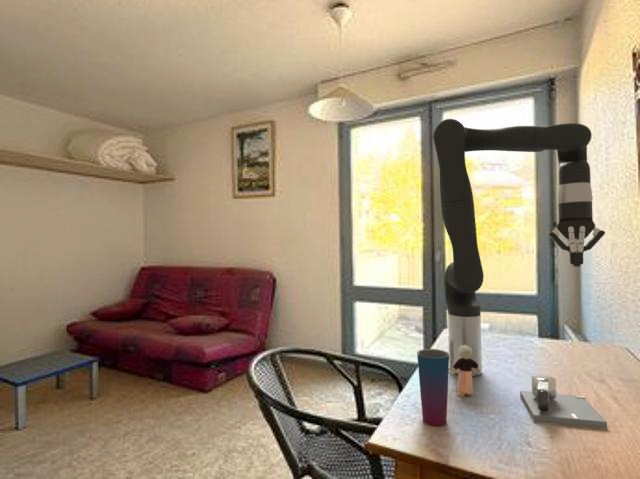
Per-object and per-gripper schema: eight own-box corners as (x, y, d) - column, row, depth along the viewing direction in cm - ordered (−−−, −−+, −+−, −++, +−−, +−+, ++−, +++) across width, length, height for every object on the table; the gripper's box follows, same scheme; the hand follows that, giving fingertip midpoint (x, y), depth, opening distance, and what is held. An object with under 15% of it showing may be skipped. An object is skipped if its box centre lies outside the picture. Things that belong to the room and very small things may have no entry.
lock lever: (532, 389, 94) (532, 373, 94) (556, 393, 92) (555, 376, 92) (529, 408, 84) (529, 390, 84) (556, 413, 82) (556, 394, 82)
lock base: (533, 421, 83) (533, 414, 83) (520, 396, 96) (520, 390, 96) (608, 429, 79) (608, 421, 79) (583, 402, 92) (583, 395, 92)
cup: (426, 411, 89) (424, 347, 89) (455, 419, 85) (453, 352, 85) (413, 422, 84) (411, 354, 84) (443, 431, 80) (441, 360, 80)
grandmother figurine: (458, 399, 96) (457, 348, 96) (449, 393, 100) (448, 344, 100) (484, 395, 98) (483, 345, 98) (474, 389, 102) (473, 341, 102)
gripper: (602, 200, 102) (603, 265, 102) (545, 204, 108) (546, 265, 108) (608, 198, 96) (610, 267, 96) (547, 201, 102) (548, 267, 102)
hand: (576, 266), depth 102 cm, fingers closed
